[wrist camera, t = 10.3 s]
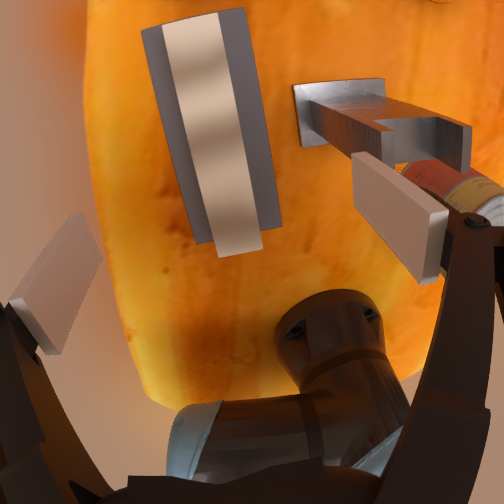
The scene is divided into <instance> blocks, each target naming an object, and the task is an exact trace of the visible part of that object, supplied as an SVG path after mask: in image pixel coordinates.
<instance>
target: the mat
mask: <svg viewBox="0 0 504 504" xmlns="http://www.w3.org/2000/svg"><path fill="white" fill-rule="evenodd" d="M213 13H218V18H219V23H220V28H221V33H222V38H223V43H224V47H225V52H226V57H227V62H228V67H229V72H230V77H231V82H232V87H233V92H234V98H235V103H236V108H237V113H238V118H239V123H240V128H241V133H242V139H243V144H244V149H245V154H246V159H247V165H248V170H249V175H250V180H251V186H252V191H253V196H254V202H255V207H256V212H257V218H258V223H259V228H260V231H264V230H269V229H274V228H279V227H282V222H281V215H280V208H279V202H278V195H277V189H276V182H275V176H274V169H273V163H272V157H271V151H270V144H269V138H268V132H267V126H266V121H265V115H264V109H263V103H262V98H261V92H260V86H259V81H258V75H257V70H256V65H255V59H254V54H253V49H252V43H251V38H250V33H249V28H248V23H247V18H246V13H245V8H244V7H242V8H236V9H229V10H224V11H218V12H213ZM208 14H212V13H208ZM203 15H207V14H203ZM198 16H202V15H198ZM193 17H197V16H193ZM193 17H189V18H193ZM185 19H188V18H185ZM181 20H184V19H181ZM177 21H180V20H177ZM173 22H176V21H173ZM169 23H172V22H169ZM165 24H168V23H165ZM165 24H161V25H158V26H154V27H151V28H148V29H144V30H141V34H142V38H143V43H144V47H145V52H146V56H147V61H148V65H149V70H150V74H151V78H152V82H153V86H154V91H155V95H156V99H157V103H158V107H159V111H160V115H161V119H162V123H163V127H164V131H165V134H166V138H167V142H168V146H169V150H170V153H171V157H172V161H173V164H174V168H175V172H176V175H177V179H178V182H179V186H180V189H181V193H182V197H183V200H184V203H185V207H186V210H187V214H188V217H189V221H190V224H191V227H192V231H193V234H194V237H195V241H196V244H201V243H206V242H210V241H214V239H213V235H212V231H211V228H210V224H209V220H208V217H207V213H206V209H205V205H204V201H203V198H202V194H201V190H200V186H199V182H198V178H197V174H196V170H195V167H194V163H193V159H192V155H191V151H190V147H189V143H188V138H187V134H186V130H185V126H184V122H183V118H182V114H181V109H180V105H179V101H178V97H177V92H176V88H175V84H174V79H173V75H172V71H171V66H170V62H169V57H168V53H167V48H166V43H165V39H164V34H163V29H162V25H165Z"/></svg>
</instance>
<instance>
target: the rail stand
mask: <svg viewBox="0 0 504 504" xmlns="http://www.w3.org/2000/svg"><path fill="white" fill-rule="evenodd" d="M292 89H293V95H294V102H295V109H296V115H297V123H298V130H299V137H300V145H301V147H302V148H305V147H312V146H318V145H325V144H332V145H333V146H334V147H336V148H337V149H338V150H340V151H341V152H342V153H344V154H345V155H346V156H347V157H349V158H350V159H351V153H357V152H365V151H366V152H367V153H369V154H370V155H372V156H374V157H375V158H377V159H378V160H380V161H381V162H383V163H384V164H386V165H387V166H389V167H390V168H392V169H393V170H395V164H397V163H405V162H413V161H422V160H431V159H437V160H439V161H441V162H443V163H444V164H446V165H448V166H449V167H451V168H453V169H454V170H456V171H458V172H459V173H468V172H470V161H471V145H472V126H470V125H467V124H465V123H462V122H460V121H457V120H455V119H452V118H449V117H447V116H444V115H441V114H438V113H435V112H432V111H430V110H427V109H424V108H421V107H417V106H414V105H411V104H408V103H405V102H401V101H398V100H394V99H391V98H387V97H386V95H385V83H384V79H382V78H372V79H351V80H337V81H325V82H314V83H305V84H297V85H292Z"/></svg>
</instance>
